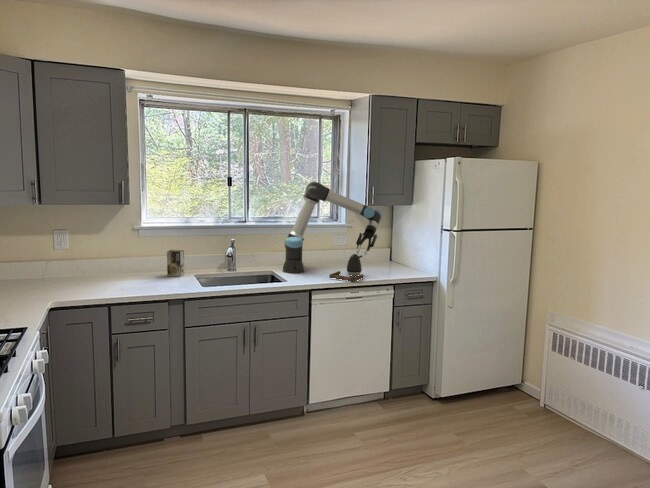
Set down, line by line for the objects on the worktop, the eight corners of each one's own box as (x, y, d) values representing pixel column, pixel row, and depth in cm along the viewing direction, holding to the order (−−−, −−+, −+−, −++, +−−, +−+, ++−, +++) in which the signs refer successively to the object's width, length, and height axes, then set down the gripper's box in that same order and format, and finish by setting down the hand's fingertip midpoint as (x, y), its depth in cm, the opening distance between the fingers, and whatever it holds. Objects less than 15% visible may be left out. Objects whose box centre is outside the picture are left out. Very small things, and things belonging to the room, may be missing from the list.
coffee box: (184, 274, 311) (184, 250, 309) (180, 276, 304) (180, 251, 302) (171, 274, 312) (170, 249, 310) (166, 276, 305) (166, 251, 303)
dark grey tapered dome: (362, 277, 322) (363, 255, 320) (346, 277, 322) (347, 254, 320) (361, 274, 332) (362, 253, 330) (346, 274, 332) (347, 252, 330)
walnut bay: (329, 278, 315) (329, 274, 314) (338, 275, 327) (339, 271, 327) (354, 282, 306) (354, 277, 306) (363, 278, 319) (363, 274, 318)
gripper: (384, 232, 345) (374, 258, 333) (361, 230, 353) (350, 255, 341) (382, 225, 339) (372, 251, 327) (358, 223, 348) (347, 248, 336)
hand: (361, 253), depth 334 cm, fingers open, 5 cm apart
